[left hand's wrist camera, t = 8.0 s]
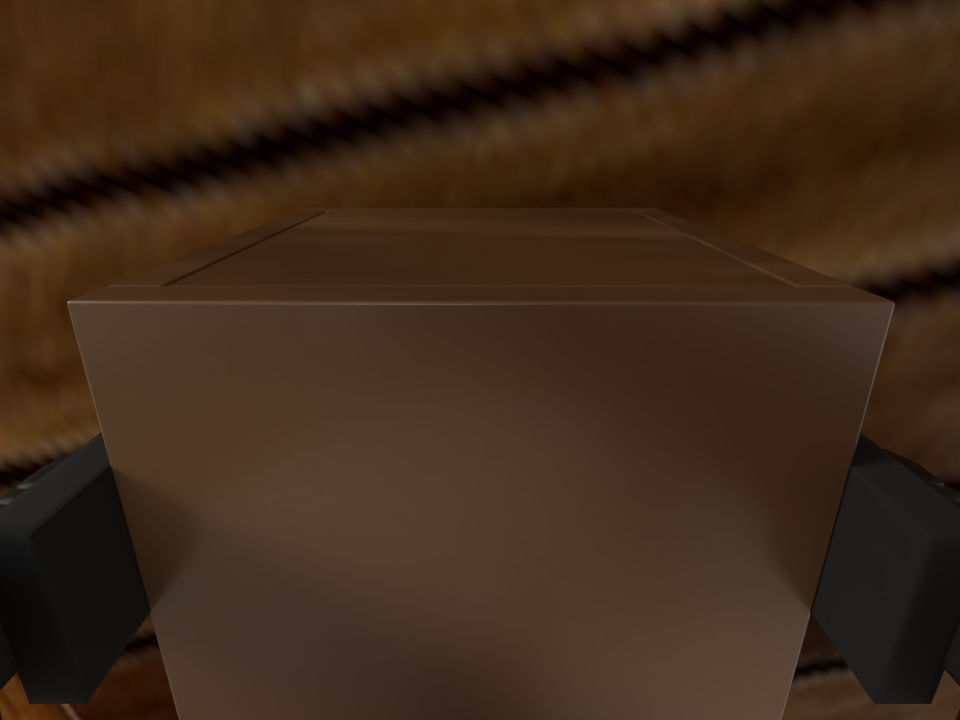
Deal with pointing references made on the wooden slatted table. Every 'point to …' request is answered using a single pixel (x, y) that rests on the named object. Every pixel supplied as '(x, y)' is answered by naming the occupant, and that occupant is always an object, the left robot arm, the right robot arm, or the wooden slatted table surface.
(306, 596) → the cabinet
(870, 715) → the wooden slatted table surface
